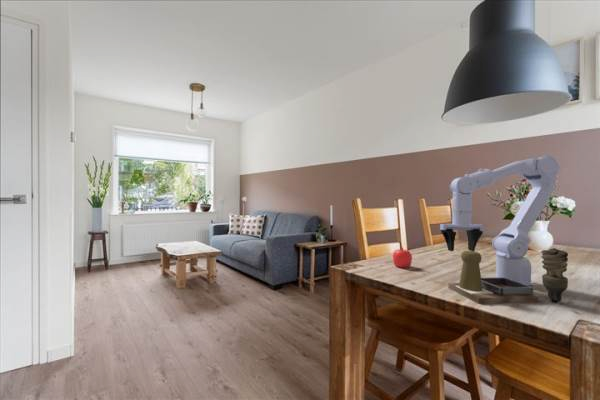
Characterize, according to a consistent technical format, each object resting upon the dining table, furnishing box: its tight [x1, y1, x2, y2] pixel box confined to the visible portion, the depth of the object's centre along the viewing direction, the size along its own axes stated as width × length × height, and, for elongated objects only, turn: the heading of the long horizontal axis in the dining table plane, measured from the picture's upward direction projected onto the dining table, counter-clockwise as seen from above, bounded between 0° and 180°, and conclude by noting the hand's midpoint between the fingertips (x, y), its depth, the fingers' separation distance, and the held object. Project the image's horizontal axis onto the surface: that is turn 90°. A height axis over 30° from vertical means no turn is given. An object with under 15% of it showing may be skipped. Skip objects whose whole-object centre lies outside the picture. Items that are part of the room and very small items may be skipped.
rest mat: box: [456, 286, 494, 294], centre depth 82 cm, size 7×7×1 cm
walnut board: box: [447, 282, 540, 305], centre depth 82 cm, size 18×13×2 cm
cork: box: [458, 250, 483, 291], centre depth 83 cm, size 6×6×11 cm
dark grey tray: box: [481, 276, 534, 296], centre depth 83 cm, size 10×10×2 cm
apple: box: [392, 247, 413, 269], centre depth 115 cm, size 8×8×8 cm
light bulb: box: [540, 247, 569, 304], centre depth 77 cm, size 6×6×15 cm
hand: (461, 250), depth 96 cm, fingers open, 7 cm apart
